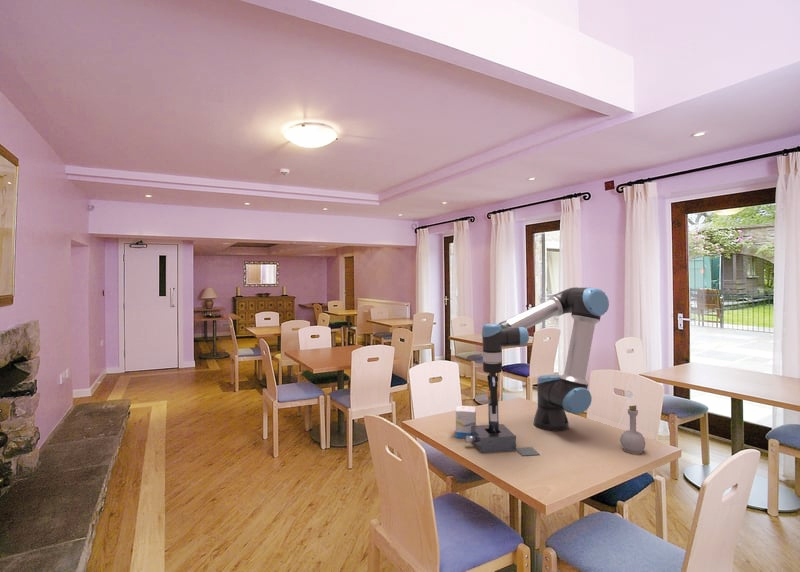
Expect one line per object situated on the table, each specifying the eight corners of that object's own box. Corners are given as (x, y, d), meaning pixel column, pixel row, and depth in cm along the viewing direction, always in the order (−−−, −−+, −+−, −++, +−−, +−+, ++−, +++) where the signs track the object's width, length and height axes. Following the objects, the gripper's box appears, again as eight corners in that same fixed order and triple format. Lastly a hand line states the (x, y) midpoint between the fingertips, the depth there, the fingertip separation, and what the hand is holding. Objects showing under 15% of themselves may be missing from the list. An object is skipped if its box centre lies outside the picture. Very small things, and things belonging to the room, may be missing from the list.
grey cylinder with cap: (486, 428, 177) (486, 389, 176) (499, 428, 176) (498, 389, 176) (487, 432, 171) (486, 393, 171) (500, 432, 171) (500, 393, 170)
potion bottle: (636, 456, 161) (636, 409, 161) (615, 448, 169) (615, 403, 169) (651, 452, 165) (650, 406, 165) (629, 444, 173) (629, 400, 173)
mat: (532, 448, 170) (532, 447, 170) (539, 455, 163) (539, 454, 163) (515, 449, 170) (515, 448, 170) (522, 456, 163) (522, 455, 163)
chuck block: (503, 438, 181) (503, 424, 181) (516, 451, 167) (515, 435, 167) (461, 440, 179) (461, 426, 179) (471, 453, 165) (471, 438, 165)
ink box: (475, 439, 180) (475, 411, 180) (455, 438, 182) (455, 410, 182) (476, 432, 189) (476, 405, 189) (457, 431, 191) (456, 404, 190)
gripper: (481, 358, 182) (482, 412, 182) (484, 366, 165) (485, 426, 166) (499, 358, 181) (500, 412, 181) (503, 366, 164) (505, 426, 165)
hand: (493, 419), depth 174 cm, fingers closed on grey cylinder with cap, 4 cm apart
